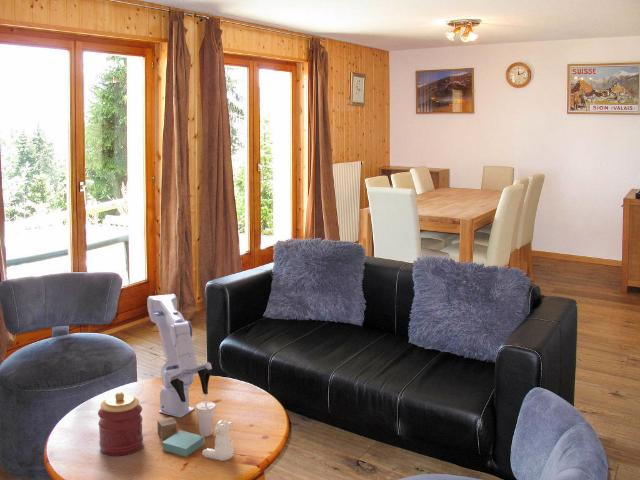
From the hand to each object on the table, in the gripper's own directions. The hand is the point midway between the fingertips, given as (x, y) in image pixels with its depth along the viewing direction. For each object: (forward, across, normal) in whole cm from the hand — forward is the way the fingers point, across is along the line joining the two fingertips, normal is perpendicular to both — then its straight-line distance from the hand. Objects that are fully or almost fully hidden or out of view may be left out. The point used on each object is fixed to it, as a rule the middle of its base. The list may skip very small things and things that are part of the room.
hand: (194, 397), depth 211 cm
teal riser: (+13, -7, 0) cm, 15 cm away
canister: (+8, -25, -4) cm, 26 cm away
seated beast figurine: (+20, +5, -1) cm, 21 cm away
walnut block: (+8, -13, +5) cm, 16 cm away
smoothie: (+10, -2, +9) cm, 14 cm away
